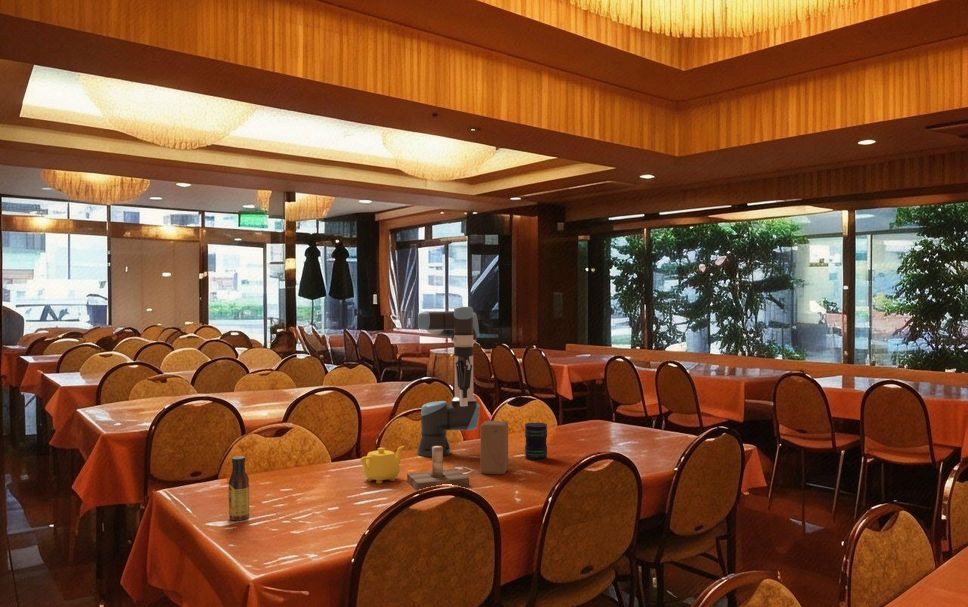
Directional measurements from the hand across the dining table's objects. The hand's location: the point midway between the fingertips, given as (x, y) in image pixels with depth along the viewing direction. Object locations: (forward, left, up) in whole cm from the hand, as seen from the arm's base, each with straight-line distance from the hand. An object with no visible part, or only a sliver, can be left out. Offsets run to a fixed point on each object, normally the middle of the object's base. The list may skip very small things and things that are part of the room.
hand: (463, 405), depth 271 cm
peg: (+4, -12, -28) cm, 31 cm away
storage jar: (-20, +41, -29) cm, 54 cm away
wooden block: (-5, +15, -29) cm, 33 cm away
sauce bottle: (+20, -84, -29) cm, 91 cm away
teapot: (-10, -30, -29) cm, 43 cm away
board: (+4, -12, -28) cm, 31 cm away
